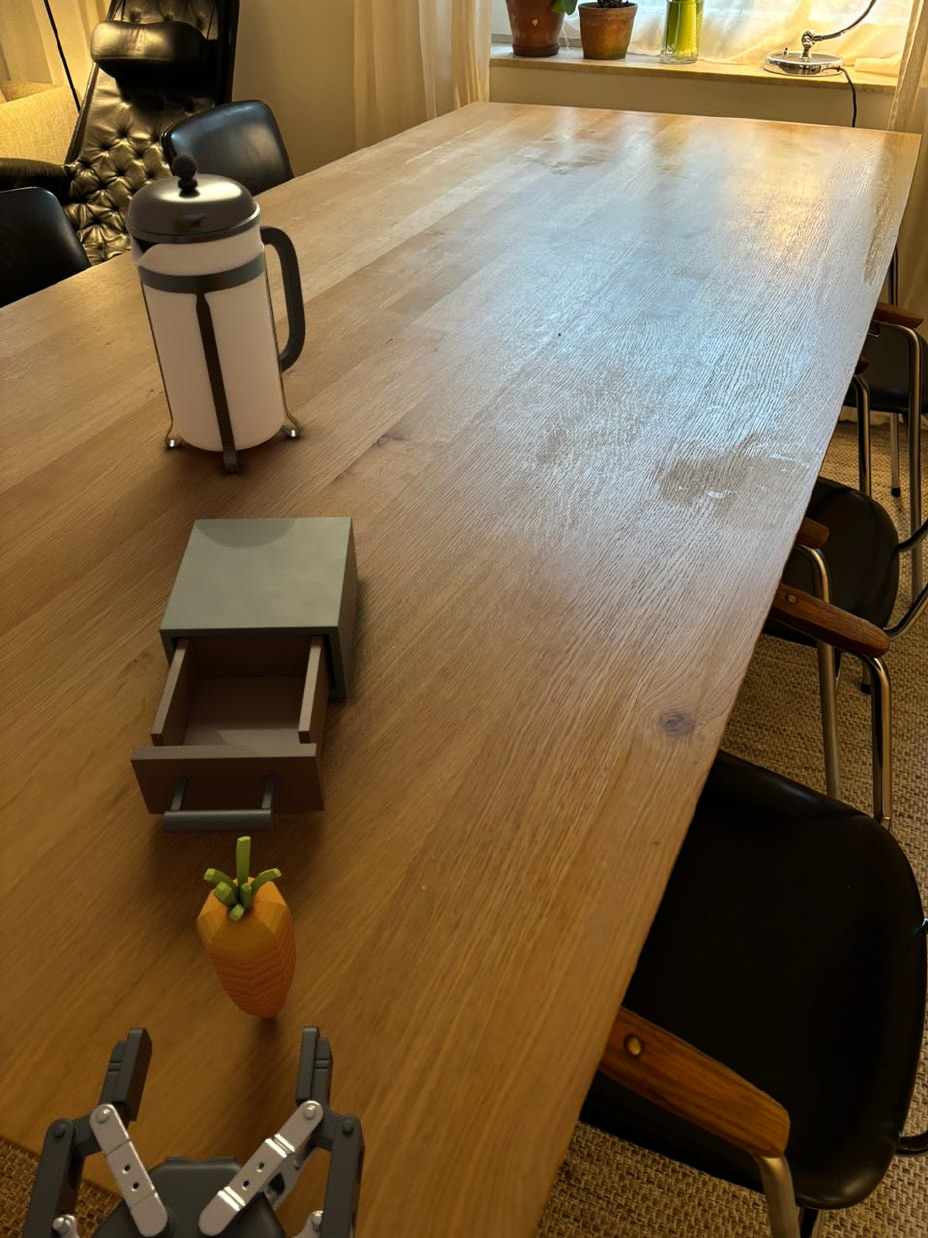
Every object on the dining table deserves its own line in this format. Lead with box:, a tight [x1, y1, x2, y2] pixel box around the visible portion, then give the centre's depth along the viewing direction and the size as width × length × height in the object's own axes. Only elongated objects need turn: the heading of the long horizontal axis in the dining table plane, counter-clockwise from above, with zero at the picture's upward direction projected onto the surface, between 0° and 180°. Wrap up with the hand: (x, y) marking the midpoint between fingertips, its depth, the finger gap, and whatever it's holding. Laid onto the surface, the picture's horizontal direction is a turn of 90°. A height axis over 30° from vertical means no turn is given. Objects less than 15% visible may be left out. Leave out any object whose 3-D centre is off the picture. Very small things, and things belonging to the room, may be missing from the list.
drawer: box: [130, 634, 331, 835], centre depth 72 cm, size 18×12×6 cm
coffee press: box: [123, 153, 307, 473], centre depth 102 cm, size 17×16×30 cm
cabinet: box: [158, 516, 360, 699], centre depth 83 cm, size 15×14×8 cm
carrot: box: [196, 836, 297, 1020], centre depth 55 cm, size 5×5×15 cm
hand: (227, 1034), depth 49 cm, fingers open, 8 cm apart
